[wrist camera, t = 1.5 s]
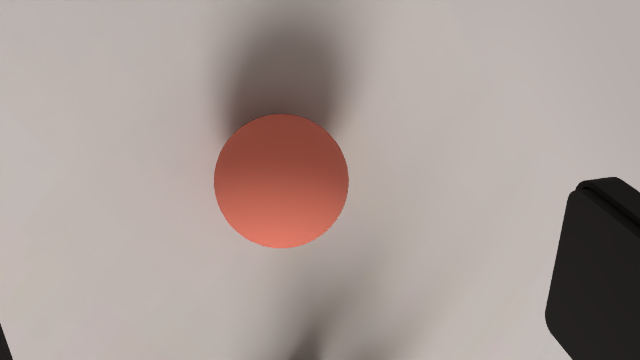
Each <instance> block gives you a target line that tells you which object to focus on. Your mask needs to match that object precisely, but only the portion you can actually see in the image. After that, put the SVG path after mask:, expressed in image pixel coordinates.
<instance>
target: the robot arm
mask: <svg viewBox="0 0 640 360" xmlns="http://www.w3.org/2000/svg"><path fill="white" fill-rule="evenodd" d="M545 319H546V324H547V327H548V329H549V331H550V332H551V334H552V335H553V336H554V338H555V339H556V340H557V341H558V342H559V344H560V345H561V346H562V347H563V349H564V350H565V351H566V352H567V353H568V355H569V356H570V357H571V358H572V359H573V360H640V192H638V191H637V190H636V189H634V188H633V187H631V186H630V185H628V184H627V183H625V182H624V181H623V180H621V179H619V178H617V177H608V178H601V179H594V180H586V181H582V182H581V183H579V184H578V186H577V187H576V190H575V191H573V192H571V193H570V195H569V197H568V200H567V205H566V210H565V215H564V220H563V225H562V230H561V235H560V240H559V245H558V250H557V255H556V260H555V265H554V270H553V275H552V280H551V285H550V290H549V295H548V300H547V305H546V310H545ZM0 360H13V359H12V356H11V353H10V350H9V347H8V344H7V341H6V339H5V336H4V333H3V330H2V327H1V324H0Z"/></svg>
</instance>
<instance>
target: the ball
mask: <svg viewBox="0 0 640 360" xmlns="http://www.w3.org/2000/svg"><path fill="white" fill-rule="evenodd" d="M348 183H349V178H348V170H347V165H346V161H345V158H344V156H343V154H342V151H341V149H340V147H339V146H338V144H337V143H336V141H335V140H334V139H333V138H332V137H331V135H330V134H329V133H328V132H327V131H325V130H324V129H323V128H322V127H320V126H319V125H317V124H316V123H314V122H312V121H310V120H308V119H306V118H303V117H300V116H295V115H290V114H272V115H267V116H263V117H260V118H257V119H254V120H252V121H250V122H248V123H247V124H245V125H244V126H242V127H241V128H240V129H238V130H237V131H236V132H235V133H234V134H233V135H232V136H231V137H230V138H229V139H228V141H227V142H226V144H225V145H224V147H223V149H222V150H221V152H220V155H219V157H218V160H217V163H216V167H215V173H214V188H215V195H216V199H217V202H218V205H219V207H220V210H221V212H222V213H223V215H224V217H225V218H226V220H227V221H228V223H229V224H230V225H231V226H232V227H233V228H234V229H235V230H236V231H237V232H238V233H239V234H241V235H242V236H243V237H245V238H246V239H248V240H250V241H252V242H254V243H257V244H260V245H262V246H266V247H272V248H290V247H296V246H300V245H303V244H306V243H308V242H310V241H312V240H314V239H316V238H317V237H319V236H321V235H322V234H323V233H324V232H326V231H327V230H328V229H329V228H330V227H331V226H332V225H333V223H334V222H335V221H336V219H337V218H338V216H339V215H340V213H341V211H342V209H343V206H344V204H345V201H346V198H347V192H348Z"/></svg>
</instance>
